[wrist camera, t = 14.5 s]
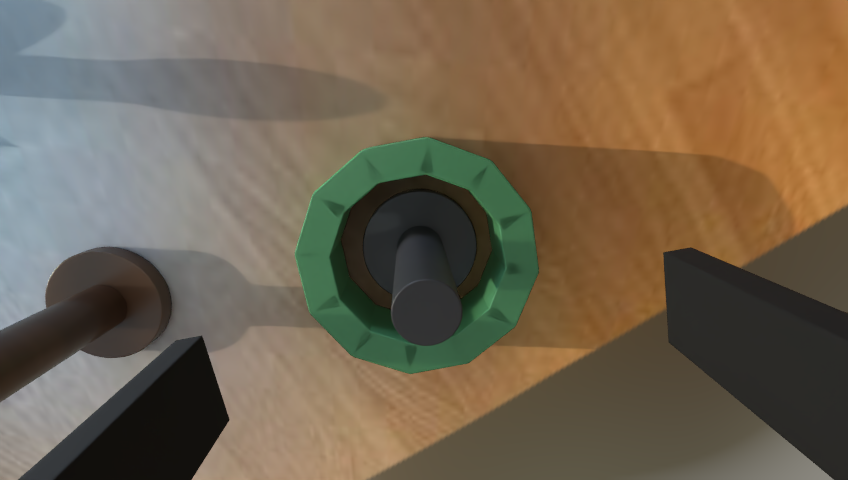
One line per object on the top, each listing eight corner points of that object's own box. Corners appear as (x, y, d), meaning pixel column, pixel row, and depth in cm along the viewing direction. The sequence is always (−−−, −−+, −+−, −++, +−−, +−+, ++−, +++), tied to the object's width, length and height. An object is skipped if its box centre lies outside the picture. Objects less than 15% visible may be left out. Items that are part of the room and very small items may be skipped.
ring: (503, 122, 24) (520, 119, 20) (530, 320, 26) (549, 349, 23) (291, 161, 24) (271, 166, 20) (339, 355, 26) (328, 389, 23)
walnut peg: (151, 237, 24) (-20, 306, 15) (185, 339, 26) (49, 464, 16) (42, 257, 24) (-202, 340, 15) (81, 358, 26) (-117, 494, 16)
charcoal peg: (464, 179, 24) (502, 209, 14) (481, 284, 26) (527, 377, 16) (353, 200, 24) (317, 243, 14) (376, 304, 26) (357, 408, 16)
